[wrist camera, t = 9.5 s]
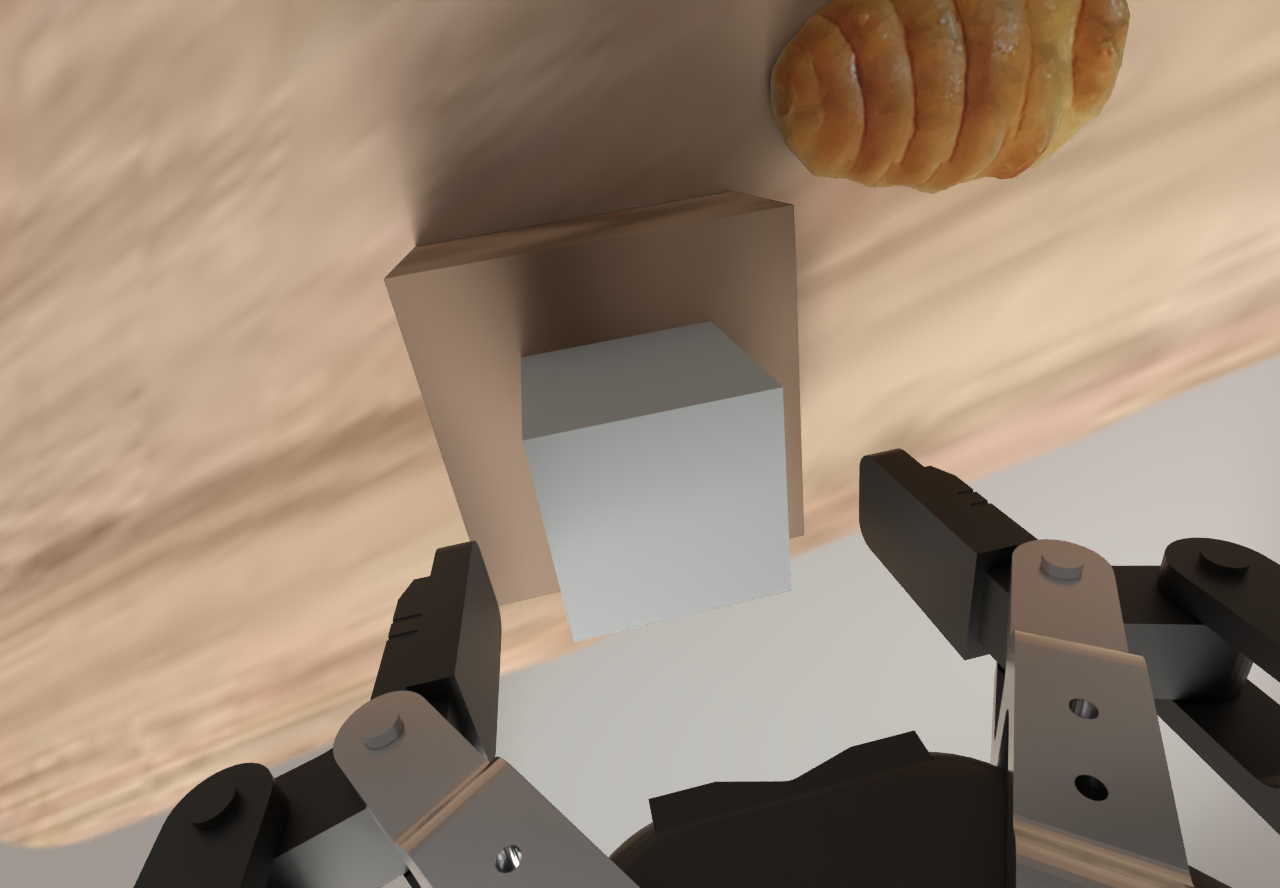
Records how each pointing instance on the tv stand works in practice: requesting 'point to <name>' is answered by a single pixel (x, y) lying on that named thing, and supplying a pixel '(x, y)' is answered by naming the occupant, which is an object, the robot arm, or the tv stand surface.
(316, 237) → the tv stand surface
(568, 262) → the tan square block
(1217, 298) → the tv stand surface
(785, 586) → the grey cube
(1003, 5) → the pastry
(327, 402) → the tv stand surface
